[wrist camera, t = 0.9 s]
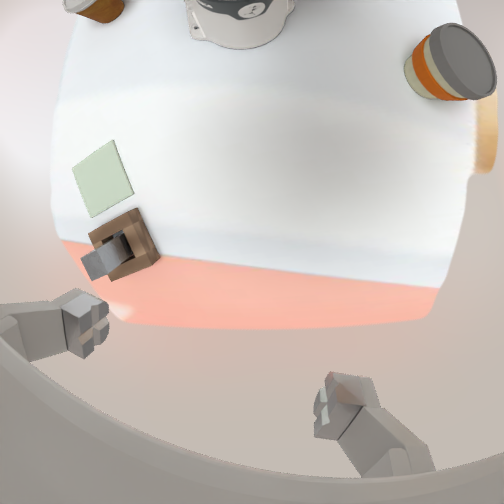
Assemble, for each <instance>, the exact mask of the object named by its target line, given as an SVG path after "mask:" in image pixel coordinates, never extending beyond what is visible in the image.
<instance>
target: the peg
mask: <svg viewBox="0 0 504 504" xmlns="http://www.w3.org/2000/svg"><path fill="white" fill-rule="evenodd" d="M132 254H134V253H133V251H132V249H131V247H130V245H129V243H128V240H127V238H126V236H125V234H124V233H122V234H120V235H118V236H116V237H114V238H112V239H111V240H109V241H107V242H106V243H104V244H103V245H101V246H99V247H98V248H96V249H94V250H93V251H91V252H90V253H88V254H86V255H85V256H83V257H82V258H80V259H81V261H82V263H83V265H84V267H85V269H86V271H87V273H88V275H89V277H90V279H91V280H92V281H93V280H95V279H98V278H100V277H102V276H104V275H107V274H109V273H110V272H111V271H112V270H114V269H115V268H116V267H117V266H119V265H120V264H121V263H122V262H124V261H125V260H126V259H127V258H129V257H130V256H131V255H132Z"/></svg>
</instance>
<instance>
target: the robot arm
mask: <svg viewBox="0 0 504 504" xmlns="http://www.w3.org/2000/svg"><path fill="white" fill-rule="evenodd" d="M184 2H185V3H186V10H187V16H188V23H189V29H190V34H191V37H192V38H193V39H195V40H208V41H211V42H213V43H215V44H218V45H220V46H223V47H226V48H231V49H249V48H254V47H258V46H261V45H263V44H266V43H268V42H269V41H271V40H273V39H274V38H275V37H276V36H277V35H278V34H279V33H280V32H281V30H282V29H283V27H284V24H285V20H286V17H287V15H288V14H290V13H291V12H292V10H293V9H294V7H295V5H294V2H293V1H292V0H184ZM196 27H199V28H198V29H195V28H196ZM108 313H109V305H108V304H107V302H105V301H103V300H101V299H99V298H97V297H95V296H93V295H91V294H89V293H86V292H85V291H83V290H80V289H77V288H75V289H73V290H71V291H69V292H67V293H65V294H64V295H62V296H60V297H58V298H56V299H55V300H53V301H51V302H49V301H39V302H26V303H12V304H0V504H504V453H500V454H497V455H494V456H492V457H488V458H485V459H482V460H479V461H476V462H472V463H468V464H465V465H461V466H457V467H452V468H448V469H443V470H438V471H436V470H435V466H434V463H433V461H432V457H431V455H430V452H429V449H428V446H427V445H426V444H425V443H424V442H422V441H421V440H420V439H419V438H418V437H417V436H416V435H414V434H413V433H412V432H411V431H410V430H409V429H408V428H406V427H405V426H404V425H403V424H402V423H401V422H400V421H399V420H397V419H396V418H395V417H394V416H393V415H392V414H391V413H389V412H388V411H387V410H386V409H385V408H381V406H380V403H379V400H378V396H377V393H376V390H375V387H374V384H373V381H372V379H371V378H370V377H365V376H354V375H348V374H342V373H336V372H329V374H328V375H327V377H326V378H325V387H323V388H321V389H320V390H319V392H318V394H317V396H316V399H315V402H314V415H315V416H316V417H317V419H316V421H315V422H314V437H316V438H323V439H329V440H337V441H338V443H339V445H340V446H341V448H342V449H343V451H344V452H345V454H346V455H347V457H348V458H349V460H350V461H351V462H352V464H353V465H354V467H355V468H356V470H357V471H358V472H359V474H360V475H361V478H332V477H316V476H305V475H296V474H288V473H281V472H275V471H269V470H263V469H257V468H253V467H248V466H244V465H239V464H235V463H231V462H227V461H223V460H220V459H216V458H212V457H209V456H206V455H203V454H199V453H196V452H193V451H190V450H187V449H184V448H182V447H179V446H176V445H174V444H171V443H168V442H166V441H163V440H161V439H158V438H156V437H153V436H151V435H149V434H146V433H144V432H142V431H139V430H138V429H136V428H133V427H131V426H129V425H127V424H125V423H123V422H121V421H119V420H117V419H115V418H113V417H111V416H110V415H108V414H106V413H104V412H102V411H101V410H99V409H97V408H95V407H94V406H92V405H90V404H88V403H87V402H85V401H83V400H82V399H80V398H79V397H77V396H76V395H74V394H72V393H71V392H69V391H68V390H66V389H65V388H63V387H62V386H60V385H59V384H58V383H56V382H55V381H53V380H52V379H51V378H49V377H48V376H47V375H45V374H44V373H43V372H41V371H40V370H39V369H37V368H36V367H35V366H33V365H32V364H31V363H30V362H32V361H35V360H39V359H42V358H46V357H49V356H52V355H56V354H59V353H63V352H66V351H67V350H68V351H70V352H72V353H74V354H75V355H77V356H79V357H81V358H83V359H85V358H86V357H87V356H88V355H89V354H90V353H92V352H93V351H94V346H95V345H100V344H101V343H103V342H104V341H105V339H106V337H107V335H108V333H109V322H108V319H107V318H106V316H107V314H108Z"/></svg>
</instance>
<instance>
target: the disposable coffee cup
mask: <svg viewBox="0 0 504 504" xmlns="http://www.w3.org/2000/svg"><path fill="white" fill-rule="evenodd" d="M63 6H64V9H65V11H66V12H67V13H76V14H79V15H82V16H84V17H87V18H90V19H93V20H95V21H98V22H100V23H109V22H111V21H113V20H114V19H116V18H117V17H118V16H119V15H120V14H121V12H122V11H123V9H124V3H123V2H122V0H63Z"/></svg>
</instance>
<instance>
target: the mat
mask: <svg viewBox="0 0 504 504" xmlns="http://www.w3.org/2000/svg"><path fill="white" fill-rule="evenodd" d="M72 171H73V173H74V176H75V179H76V182H77V185H78V187H79V190H80V193H81V195H82V198H83V201H84V203H85V206H86V208H87V210H88V213H89V215H90V218H93V217H94V216H96V215H98V214H99V213H101V212H103V211H104V210H106V209H108V208H110V207H111V206H113V205H115V204H117V203H118V202H120V201H122V200H124V199H126V198H127V197H129V196H131V195H133V194H134V192H133V190H132V187H131V185H130V182H129V180H128V177H127V175H126V172H125V170H124V167H123V164H122V162H121V159H120V157H119V154H118V151H117V148H116V146H115V143H114V140H111V141H110V142H108V143H107V144H105V145H104V146H102V147H101V148H99V149H98V150H96V151H95V152H94V153H92V154H91V155H89V156H88V157H87V158H85V159H84V160H83V161H81V162H80V163H79V164H77V165H76V166H75V167H73V168H72Z"/></svg>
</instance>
